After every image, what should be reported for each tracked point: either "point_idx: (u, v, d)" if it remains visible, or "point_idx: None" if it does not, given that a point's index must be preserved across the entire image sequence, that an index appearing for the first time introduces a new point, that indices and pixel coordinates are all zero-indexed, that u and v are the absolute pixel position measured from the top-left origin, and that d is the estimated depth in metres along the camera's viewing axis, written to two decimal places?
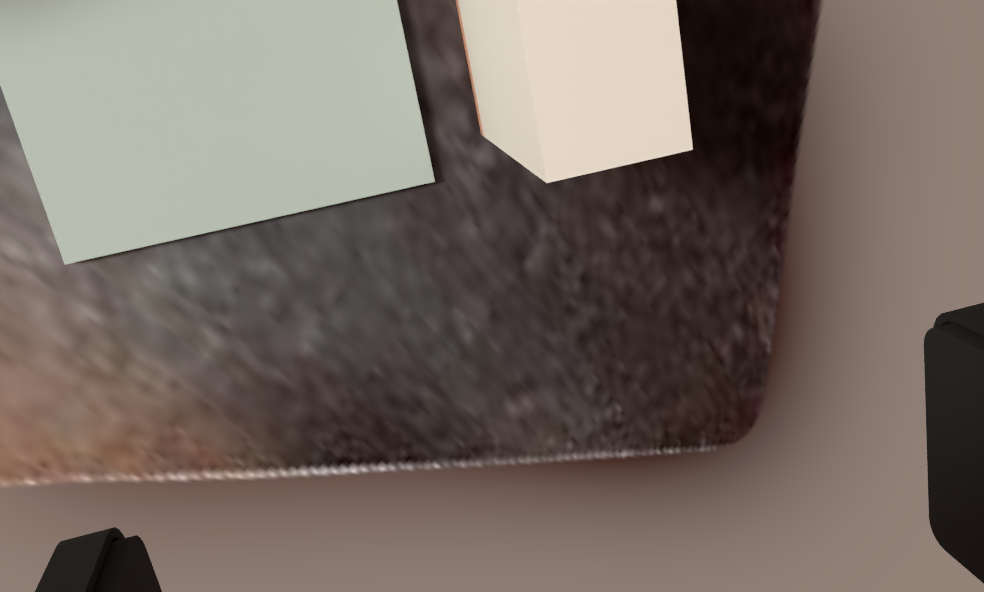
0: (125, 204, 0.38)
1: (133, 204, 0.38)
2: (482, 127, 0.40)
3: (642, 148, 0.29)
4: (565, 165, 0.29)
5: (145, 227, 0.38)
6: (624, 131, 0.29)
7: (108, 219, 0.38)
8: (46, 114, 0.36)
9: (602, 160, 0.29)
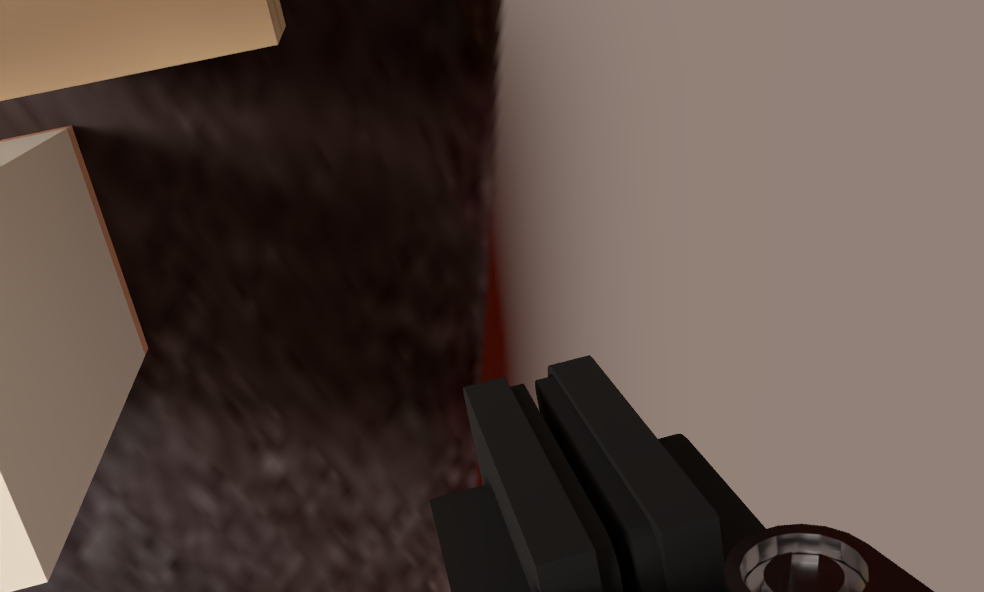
0: None
1: None
2: None
3: None
4: None
5: None
6: None
7: None
8: None
9: None
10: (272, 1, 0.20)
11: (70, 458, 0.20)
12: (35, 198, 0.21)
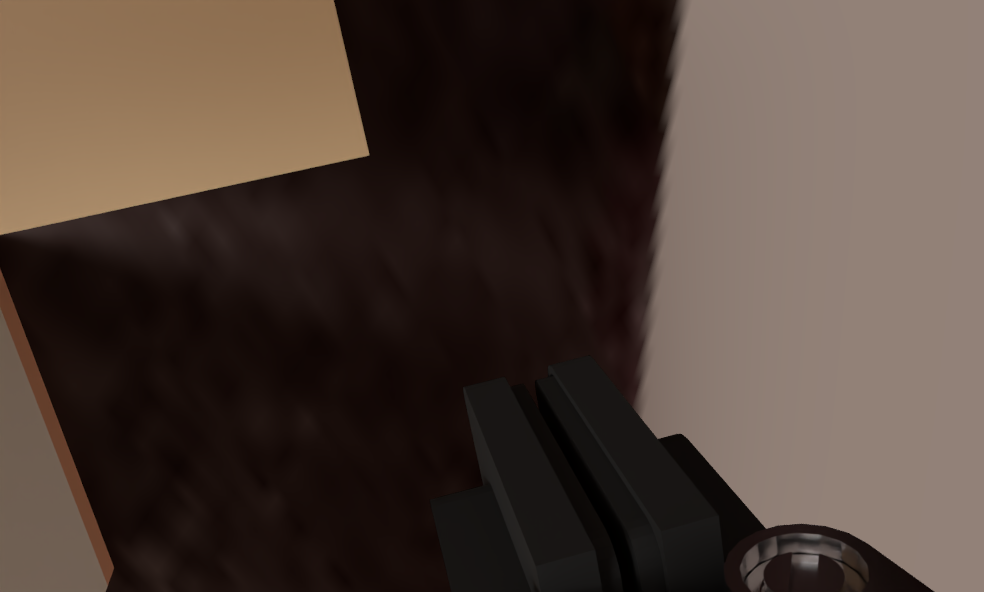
0: None
1: None
2: None
3: None
4: None
5: None
6: None
7: None
8: None
9: None
10: None
11: None
12: None
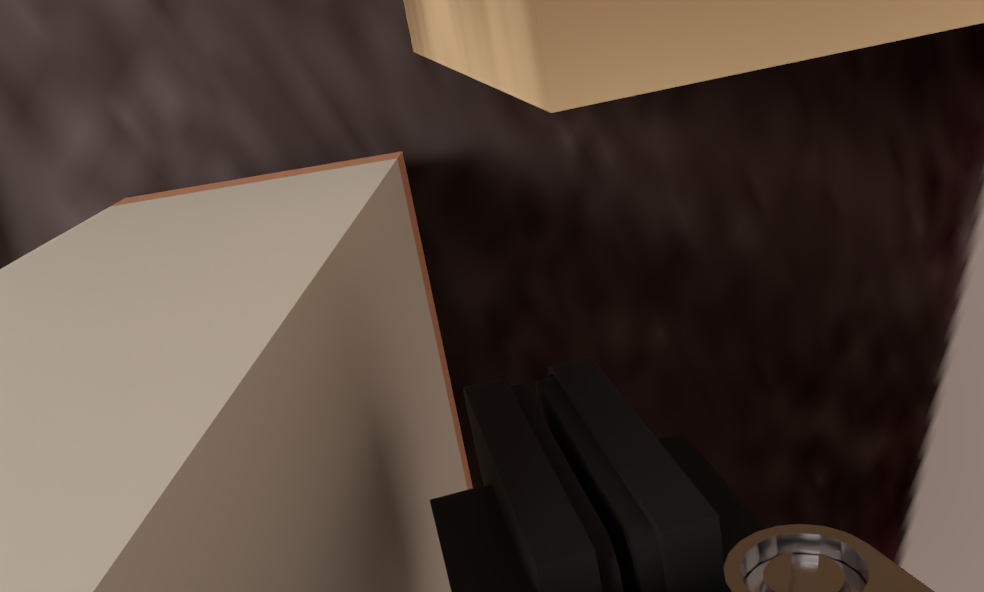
0: None
1: None
2: None
3: None
4: None
5: None
6: None
7: None
8: None
9: None
10: None
11: None
12: (363, 314, 0.11)
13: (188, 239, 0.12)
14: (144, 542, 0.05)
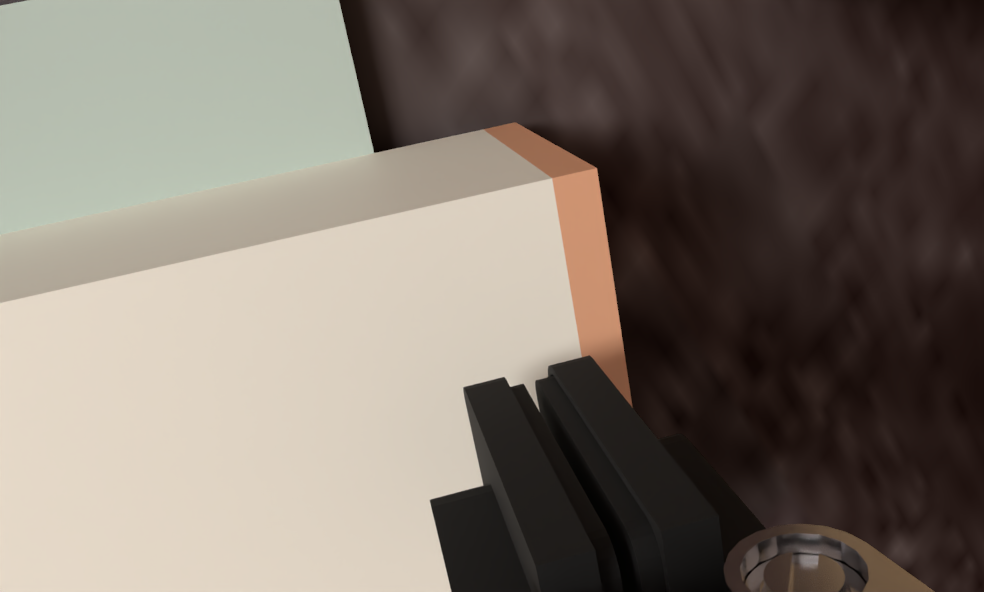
0: None
1: None
2: None
3: None
4: None
5: None
6: None
7: None
8: None
9: None
10: None
11: None
12: (223, 335, 0.11)
13: (285, 201, 0.13)
14: None
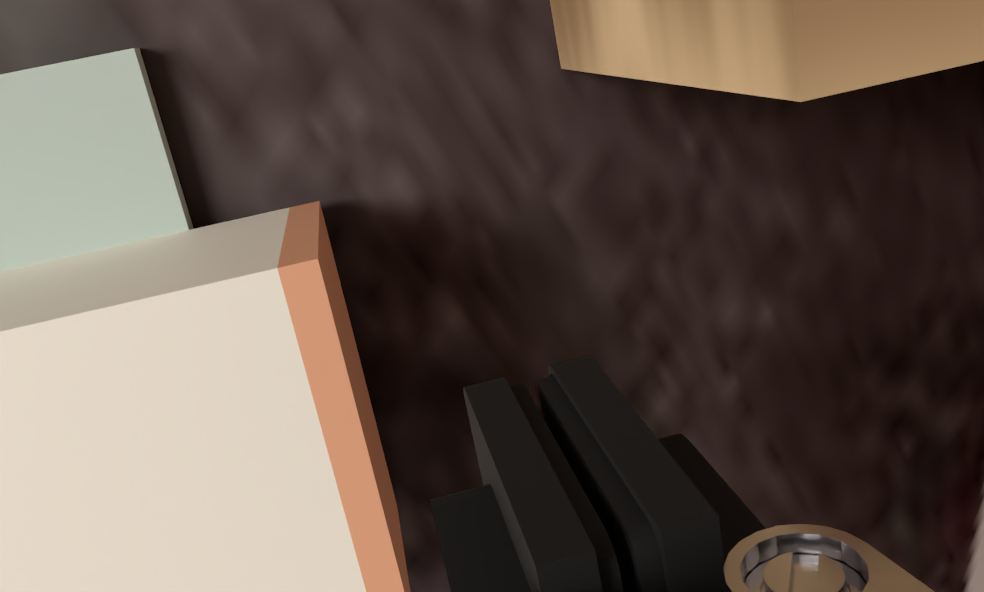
0: None
1: None
2: None
3: None
4: None
5: None
6: None
7: None
8: None
9: None
10: None
11: None
12: None
13: (75, 282, 0.15)
14: None
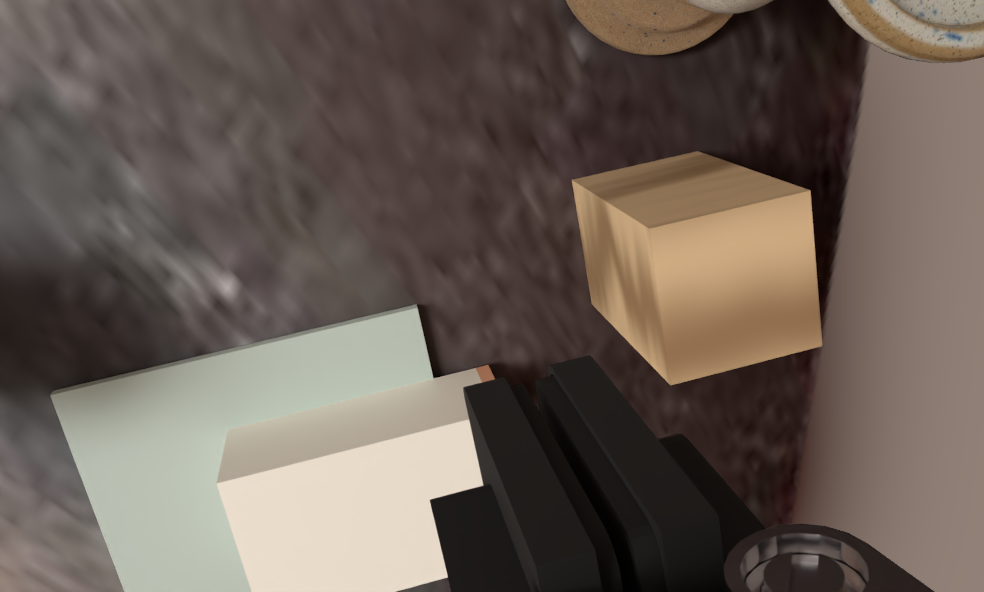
0: (191, 573, 0.42)
1: (199, 572, 0.42)
2: None
3: None
4: None
5: (209, 590, 0.43)
6: None
7: (176, 586, 0.42)
8: (124, 506, 0.41)
9: None
10: None
11: (331, 589, 0.38)
12: (394, 462, 0.37)
13: (407, 410, 0.39)
14: (240, 479, 0.36)
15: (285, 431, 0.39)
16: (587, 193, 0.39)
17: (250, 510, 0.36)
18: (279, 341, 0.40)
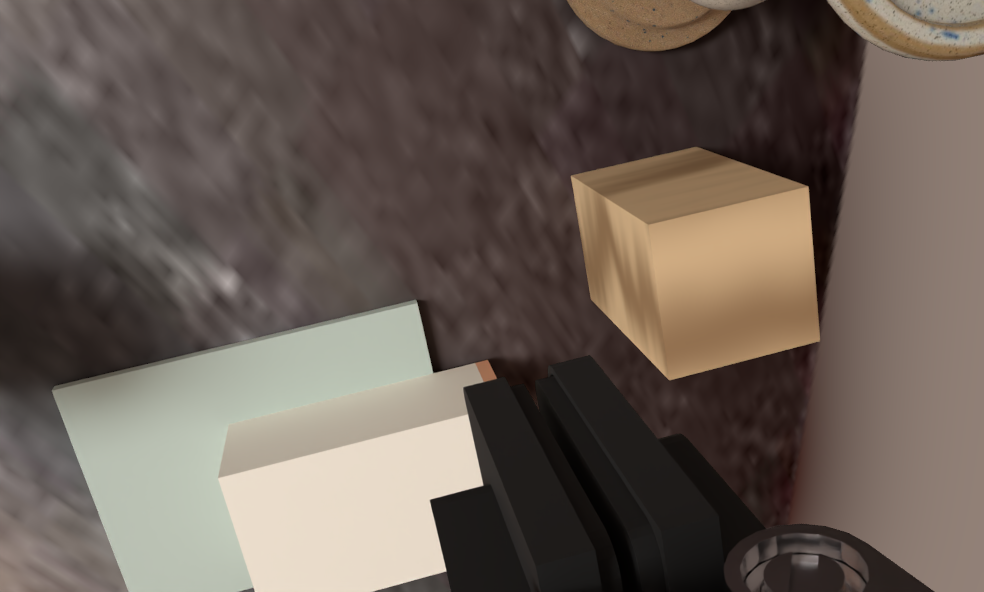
0: (193, 567, 0.42)
1: (200, 566, 0.43)
2: None
3: None
4: None
5: (210, 583, 0.43)
6: None
7: (178, 579, 0.43)
8: (125, 500, 0.41)
9: None
10: None
11: (332, 582, 0.38)
12: (394, 456, 0.37)
13: (407, 405, 0.39)
14: (241, 474, 0.36)
15: (285, 426, 0.39)
16: (586, 189, 0.39)
17: (251, 505, 0.37)
18: (280, 336, 0.40)
